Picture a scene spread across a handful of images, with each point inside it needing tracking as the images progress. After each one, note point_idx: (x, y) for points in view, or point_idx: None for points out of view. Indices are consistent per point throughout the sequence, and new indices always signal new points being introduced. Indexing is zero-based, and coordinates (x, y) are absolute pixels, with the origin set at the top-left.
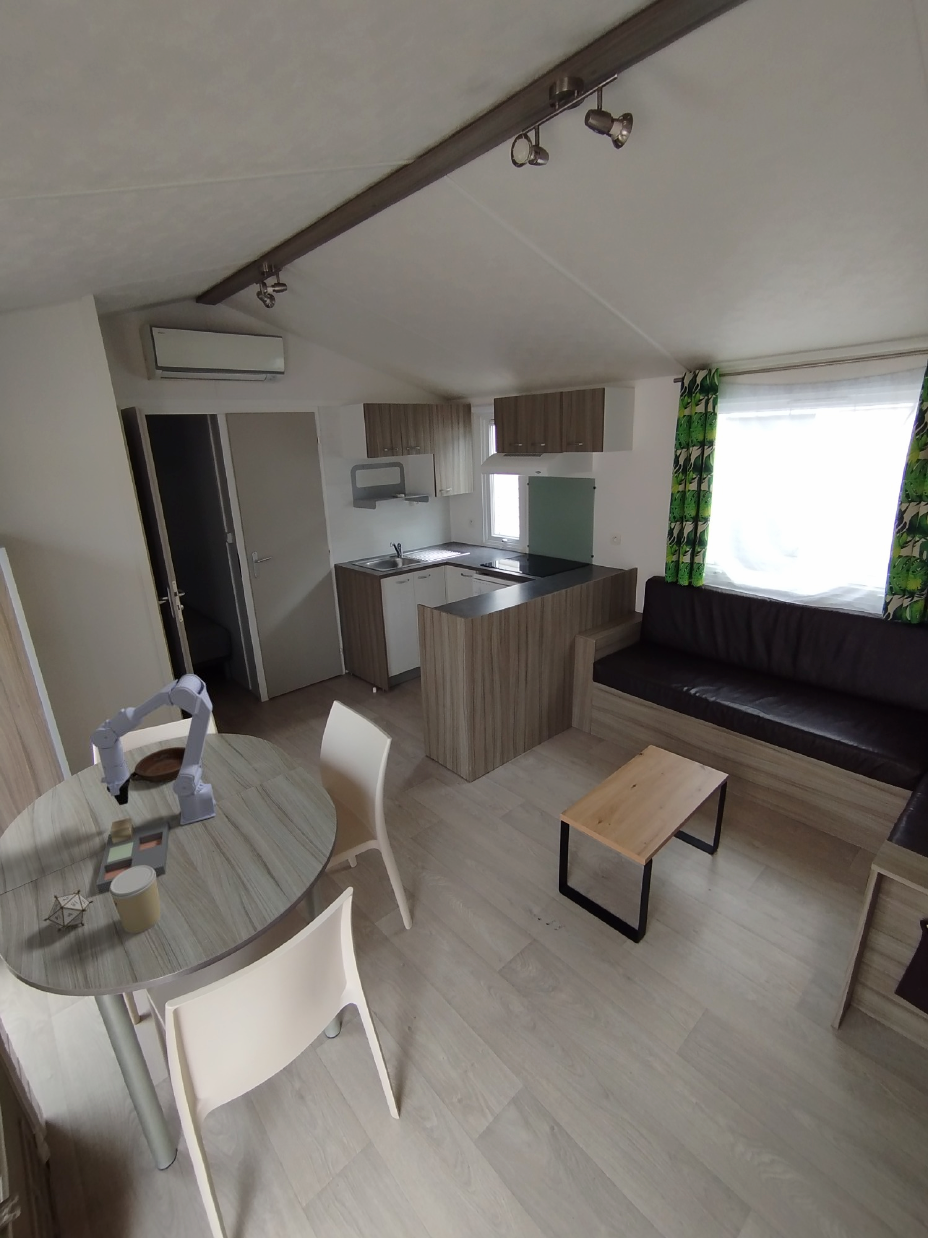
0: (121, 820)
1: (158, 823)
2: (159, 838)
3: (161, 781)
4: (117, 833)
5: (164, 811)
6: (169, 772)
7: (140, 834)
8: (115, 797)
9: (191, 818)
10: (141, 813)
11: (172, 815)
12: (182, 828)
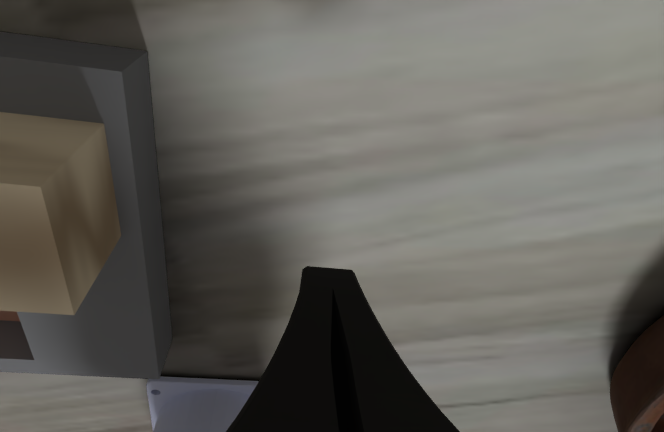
0: (47, 257)
1: (132, 346)
2: None
3: (641, 341)
4: None
5: None
6: (629, 428)
7: None
8: (273, 359)
9: (155, 425)
10: (401, 233)
11: (271, 350)
12: None
